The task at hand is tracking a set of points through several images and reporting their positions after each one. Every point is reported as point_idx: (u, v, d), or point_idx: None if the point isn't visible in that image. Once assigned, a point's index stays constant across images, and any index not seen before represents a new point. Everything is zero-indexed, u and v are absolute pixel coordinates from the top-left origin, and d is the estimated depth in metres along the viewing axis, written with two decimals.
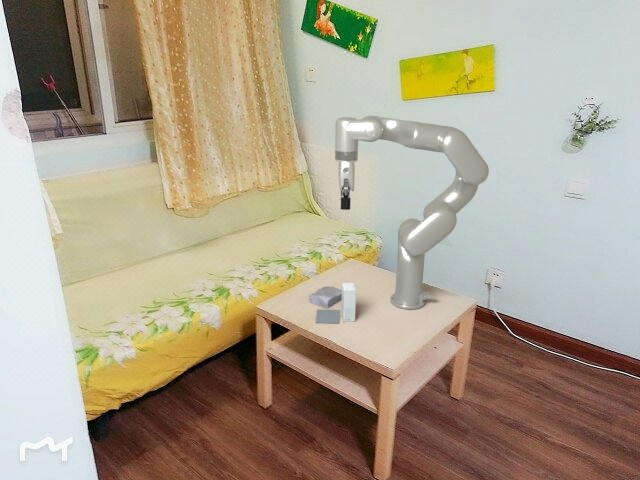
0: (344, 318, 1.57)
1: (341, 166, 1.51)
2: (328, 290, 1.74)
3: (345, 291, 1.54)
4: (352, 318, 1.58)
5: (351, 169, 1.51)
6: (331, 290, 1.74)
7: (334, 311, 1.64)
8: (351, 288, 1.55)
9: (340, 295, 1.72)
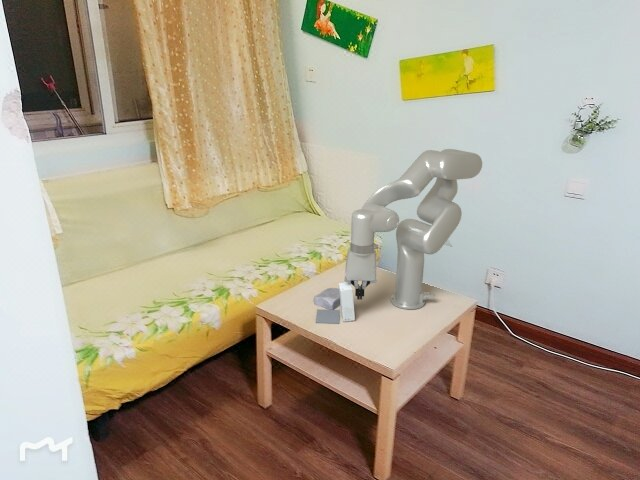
0: (343, 318, 1.57)
1: (374, 257, 1.51)
2: (332, 292, 1.72)
3: (342, 291, 1.54)
4: (352, 317, 1.58)
5: None
6: (335, 292, 1.72)
7: (334, 311, 1.64)
8: (347, 288, 1.55)
9: None
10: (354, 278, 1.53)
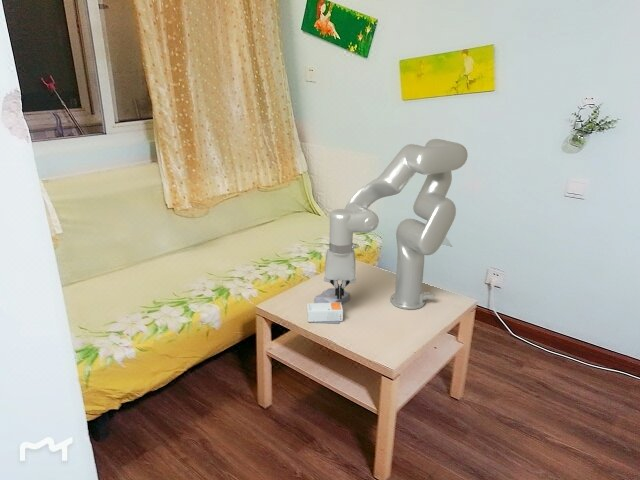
0: (338, 320, 1.58)
1: (353, 257, 1.51)
2: (333, 292, 1.72)
3: (309, 320, 1.57)
4: (338, 312, 1.57)
5: None
6: None
7: None
8: (307, 313, 1.57)
9: (346, 297, 1.71)
10: (333, 278, 1.54)
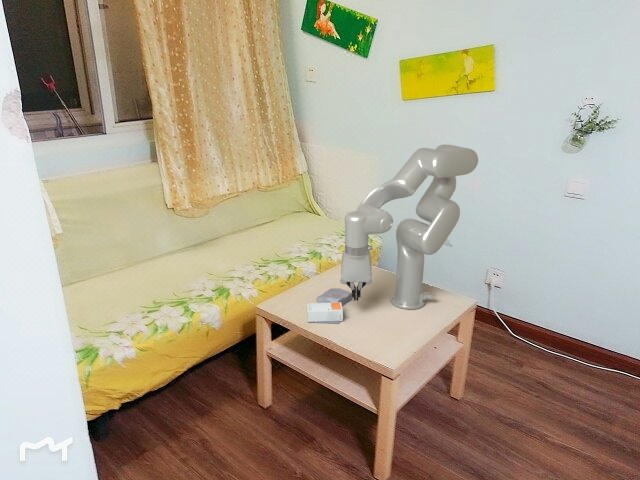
0: (338, 320, 1.58)
1: (369, 258, 1.51)
2: (335, 292, 1.72)
3: (309, 320, 1.57)
4: (338, 312, 1.57)
5: None
6: (338, 292, 1.72)
7: None
8: (307, 313, 1.57)
9: (348, 297, 1.71)
10: (350, 280, 1.54)
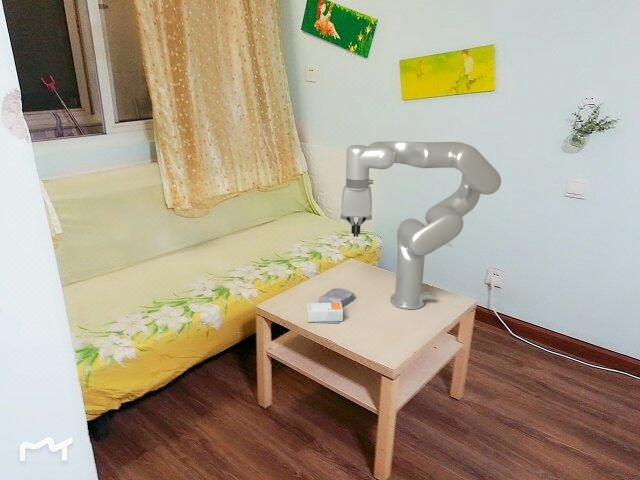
0: (338, 320, 1.58)
1: (370, 192, 1.53)
2: (338, 292, 1.72)
3: (309, 320, 1.57)
4: (338, 312, 1.57)
5: None
6: (341, 292, 1.72)
7: None
8: (307, 313, 1.57)
9: (350, 297, 1.71)
10: (350, 214, 1.55)
